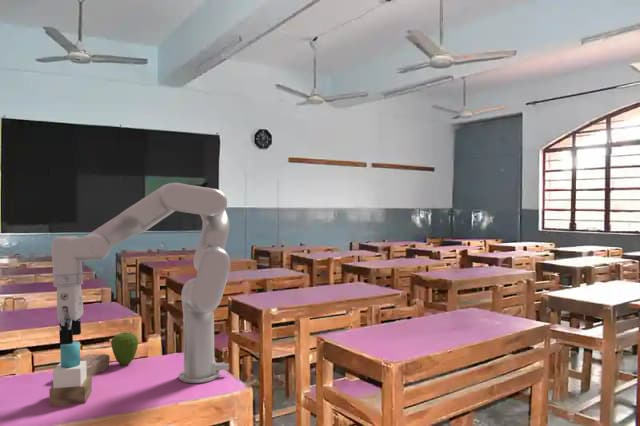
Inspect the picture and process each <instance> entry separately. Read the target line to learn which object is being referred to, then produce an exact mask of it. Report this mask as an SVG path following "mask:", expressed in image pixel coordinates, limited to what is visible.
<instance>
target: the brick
mask: <svg viewBox="0 0 640 426" xmlns="http://www.w3.org/2000/svg"><path fill="white" fill-rule="evenodd" d="M110 357H111V356H110V355H109V354H105V353H95V354H94V353H92V354H90V353H89V354H86V355H83V356H82V357H81V356H80V361H86V371H87V376H92V377H94V376H95V375H97V374H99V373H101V372H102V370H103V371H104V369H105V368H106V369H107V368H108V367H109V366H110ZM106 369H105V370H106ZM93 375H94V376H93Z"/></svg>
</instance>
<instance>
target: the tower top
mask: <svg viewBox="0 0 640 426" xmlns="http://www.w3.org/2000/svg"><path fill="white" fill-rule="evenodd" d="M52 372H53V373H52V378H53V379H52V380H53V381H52V382H53V383H52V384H53V385H52V386H53V388H65V387H77V386H81V385H82V384H83V382H84V381H85V379H86V378H87V371H86V361H80V365H78V366H76V367H71V368H62V367H61V362H59V364H57V366H55V368H54V369H53V370H52Z"/></svg>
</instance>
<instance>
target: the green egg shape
mask: <svg viewBox="0 0 640 426" xmlns="http://www.w3.org/2000/svg"><path fill="white" fill-rule="evenodd" d="M138 345H139V339H138V336H137V335H136V334H134V333H132V332H125V331H124V332H121V333H118V334H115V335H114V336H113V337H112V339H111V342H110V346H111V349H112V353H113V356H114V358H115V360H116V362H117V363H118V364H119V365H120V366H122V365H127V366H128V364H129V365H130V364H131V363H132V361H133V360H134V359H135V356H136V354H137V351H138V347H139V346H138Z"/></svg>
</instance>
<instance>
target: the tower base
mask: <svg viewBox="0 0 640 426" xmlns="http://www.w3.org/2000/svg"><path fill="white" fill-rule="evenodd" d="M92 379H93V376H87V378H86V379H85V381H84V382H83V384H82V385H81V386H77V387H65V388H53V385H52V386H50V388H49V390H48V391H49V392H48V393H49V394H48V395H49V408H50V407H61V406H70V405H80V404H86V403H87V401H88V399H89V397H90V395H91V394H92V392H93V386H92V385H93V384H92V383H93V381H92Z"/></svg>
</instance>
